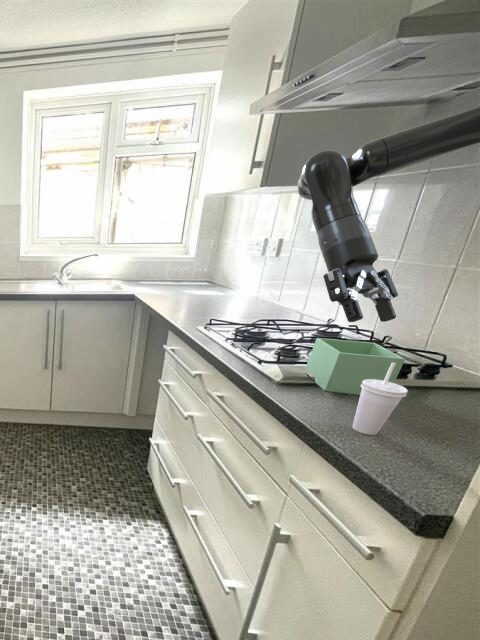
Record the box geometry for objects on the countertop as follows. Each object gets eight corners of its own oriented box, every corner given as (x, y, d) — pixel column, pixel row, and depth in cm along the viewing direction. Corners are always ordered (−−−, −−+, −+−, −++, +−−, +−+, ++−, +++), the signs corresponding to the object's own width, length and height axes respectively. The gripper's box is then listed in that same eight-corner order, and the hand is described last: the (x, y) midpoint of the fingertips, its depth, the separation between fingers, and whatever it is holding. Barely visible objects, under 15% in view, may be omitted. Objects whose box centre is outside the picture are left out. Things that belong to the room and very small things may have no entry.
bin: (359, 378, 106) (374, 342, 103) (387, 398, 96) (405, 359, 92) (303, 372, 110) (316, 337, 106) (324, 390, 99) (339, 353, 95)
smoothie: (381, 427, 83) (412, 362, 77) (390, 442, 78) (424, 373, 72) (340, 419, 86) (367, 355, 80) (347, 432, 81) (376, 366, 75)
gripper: (339, 233, 78) (367, 312, 74) (393, 235, 82) (423, 312, 78) (300, 254, 85) (324, 328, 82) (352, 256, 89) (377, 327, 85)
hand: (372, 320), depth 80 cm, fingers open, 8 cm apart
